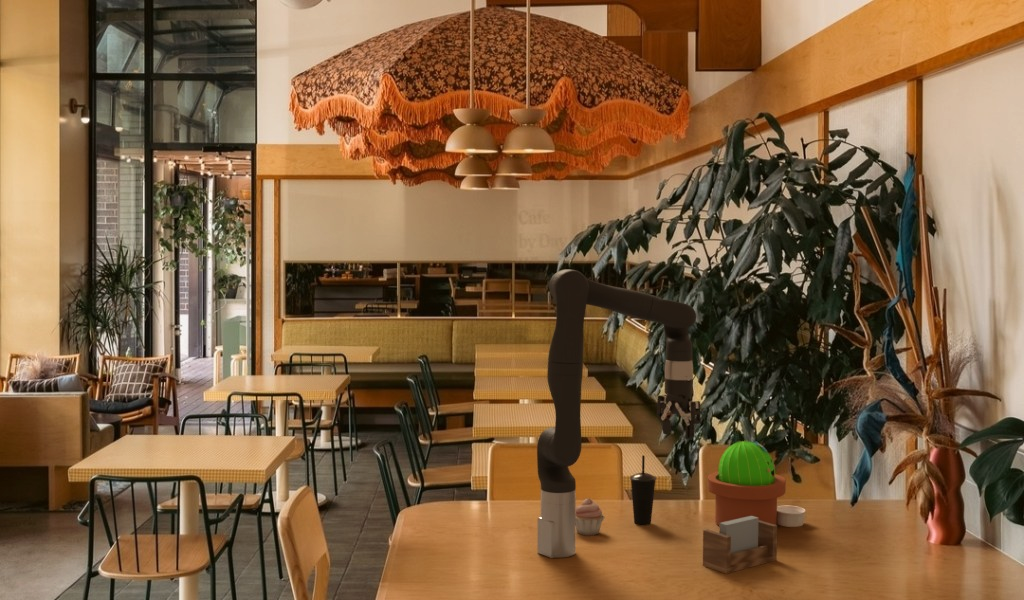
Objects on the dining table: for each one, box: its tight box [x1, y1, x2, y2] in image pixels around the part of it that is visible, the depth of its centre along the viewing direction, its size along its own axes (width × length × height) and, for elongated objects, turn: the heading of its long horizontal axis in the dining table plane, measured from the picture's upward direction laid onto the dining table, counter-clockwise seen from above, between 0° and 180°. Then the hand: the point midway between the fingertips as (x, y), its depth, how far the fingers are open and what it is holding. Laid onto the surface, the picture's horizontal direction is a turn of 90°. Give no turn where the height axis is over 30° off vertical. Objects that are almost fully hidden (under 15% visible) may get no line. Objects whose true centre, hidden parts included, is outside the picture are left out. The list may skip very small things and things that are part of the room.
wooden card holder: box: [702, 520, 778, 574], centre depth 283 cm, size 19×8×9 cm, turn 126°
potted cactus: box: [707, 439, 787, 526], centre depth 319 cm, size 22×22×25 cm
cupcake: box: [575, 497, 606, 536], centre depth 310 cm, size 9×9×10 cm
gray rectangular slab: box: [718, 516, 759, 554], centre depth 283 cm, size 12×2×10 cm, turn 126°
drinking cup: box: [629, 455, 657, 527], centre depth 319 cm, size 8×8×20 cm
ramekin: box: [776, 504, 806, 528], centre depth 321 cm, size 9×9×4 cm
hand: (678, 436), depth 296 cm, fingers open, 8 cm apart
